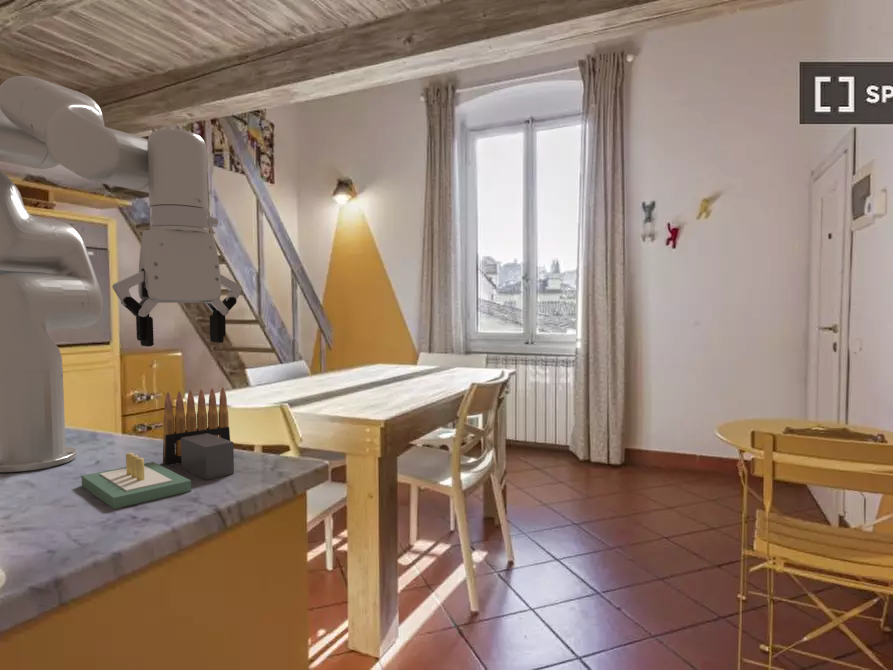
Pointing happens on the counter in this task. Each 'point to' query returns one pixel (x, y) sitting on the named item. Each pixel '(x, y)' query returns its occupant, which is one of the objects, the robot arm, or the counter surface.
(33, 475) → the counter surface
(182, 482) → the header board
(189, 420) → the ammunition clip
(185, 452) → the block
